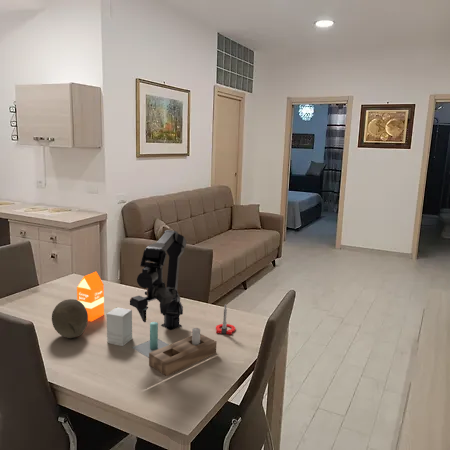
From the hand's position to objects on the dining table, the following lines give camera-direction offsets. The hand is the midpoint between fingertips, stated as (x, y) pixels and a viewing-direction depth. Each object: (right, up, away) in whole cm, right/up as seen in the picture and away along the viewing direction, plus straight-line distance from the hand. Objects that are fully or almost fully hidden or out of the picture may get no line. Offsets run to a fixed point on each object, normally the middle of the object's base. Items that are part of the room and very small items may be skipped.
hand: (154, 318), depth 162 cm
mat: (-1, -12, +3) cm, 13 cm away
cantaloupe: (-36, -9, +10) cm, 38 cm away
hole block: (+12, -14, -5) cm, 19 cm away
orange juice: (-33, -6, +30) cm, 45 cm away
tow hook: (+27, -10, +22) cm, 36 cm away
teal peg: (-1, -12, +2) cm, 12 cm away
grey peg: (+16, -13, 0) cm, 21 cm away
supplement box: (-15, -11, +8) cm, 20 cm away
